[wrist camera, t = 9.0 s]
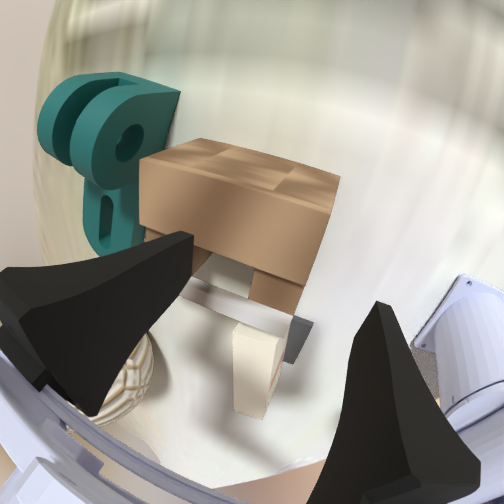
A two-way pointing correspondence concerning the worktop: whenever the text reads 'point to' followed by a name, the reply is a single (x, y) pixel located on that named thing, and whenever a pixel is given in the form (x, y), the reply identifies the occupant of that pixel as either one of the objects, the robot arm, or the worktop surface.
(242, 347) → the cream flat block piece
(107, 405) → the vase
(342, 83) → the worktop surface
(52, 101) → the bracket
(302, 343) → the mat
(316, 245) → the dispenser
